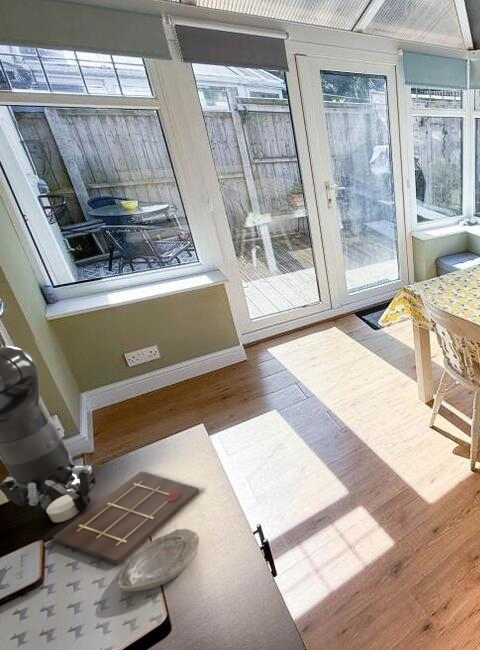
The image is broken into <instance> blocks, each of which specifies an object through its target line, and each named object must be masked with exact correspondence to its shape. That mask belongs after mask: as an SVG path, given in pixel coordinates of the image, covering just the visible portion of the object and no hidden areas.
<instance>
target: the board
mask: <svg viewBox="0 0 480 650" xmlns="http://www.w3.org/2000/svg"><path fill="white" fill-rule="evenodd" d="M199 493H200V489H199V488H198V487H195V486H192V485H189V484H186V483H182V482H179V481H176V480H172V479H170V478H166V477H162V476H159V475H156V474H153V473H149V472H145V471H143V470H141V471H139V472H138V473H137V474H135V475H134V476H133V477H131V478H130V479H129V480H126V482H125V483H123V484H122V485H120V486H119V487H118V488H116V489H115V490H114V491H112V492H111V493H110V494H108V495H107V496H106V497H104V498H103V499H101V501H99V502H98V503H96V504H95V505H94V506H92V507H91V508H89V509H88V510H87V511H86V512H85V513H83V514H81V516H78V517H77V518H76V519H75V520H74V521H72V522H71V523H70V524H67V526H66V527H64V528H63V529H61V530H60V531H59V532H58V533H56V534H55V535H54V536H53V539H54V541H55V542H57V543H60V544H62V545H66V546H69V547H70V548H74V549H76V550H79V551H82V552H84V553H86V554H90V555H92V556H95V557H97V558H100V559H103V560H106V561H109V562H111V563H114V564H117V565H121V563H123V561H125V560H126V559H127V558H128V557H129V556H130V555H131V554H133V553H134V552H135V551H136V550H137V549H138V548H139V547H140V546H141V545H142V544H144V543H145V542H146V541H147V540H148V539H150V538H151V536H152V535H154V534H155V533H156V532H157V531H158V530H160V528H161V527H162V526H164V525H165V524H166V523H167V522H168V521H169V520H170V519H171V518H172V517H174V516H175V515H176V514H177V513H178V512H179V511H181V509H183V508H184V507H185V506H186V505H187V504H188V503H189V502H190V501H191V500H193V499H194V498H195V497H196V496H197V495H198V494H199Z"/></svg>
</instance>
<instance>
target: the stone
mask: <svg viewBox="0 0 480 650" xmlns="http://www.w3.org/2000/svg"><path fill="white" fill-rule="evenodd" d="M72 499H73V498H71V497H70V496H69V495H67V494H63V495H62V496H60V497H58V498H56V499H55V500H54V501H53V500H52V503H51V504H50V505H49V506H48V507H47V509H46V512H47V514H48V516H49V517H48V518H49V519H50V521H51V522H52V523H61V522H65V521H69V520H70V519H72V518H74V517H75V516H77V515H78V514H79V513H81V511H78V509H77V508H76V506H75V504H74V502H73V500H72Z"/></svg>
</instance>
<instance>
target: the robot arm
mask: <svg viewBox="0 0 480 650" xmlns="http://www.w3.org/2000/svg"><path fill="white" fill-rule="evenodd" d="M39 373H40V372H39V368H38V365H37V362H36V361H35V359H34V357H33V356H32V355H31V354H30V353H28V351H26V350H24V349H22V348H19V347H17V346H0V460H1V461H2V463H3V465H4V466H5V468H6V470H7V471H8V473H9V475H8V476H7V477H6V478H5V479H4V480H3V481H1V483H0V491H1V492H2V493H3V494H4V495H5V496H7V498H9V499H10V500H11V501H12V502H13V503H15V505H16V506H19V507H21V506H24V505H27V504H28V505H29V506H31V507H34V508H35V510H36V512H37V513H38V514H39V515H40V516H42V518H50V517H49V516H48V514H47V512H46V509H47V507H48V506H49V505H50V504H51V503H52V502H53V500H52V499H51V497H50V495H47V491H53V490H54V491H55V490H56V491H57V492H58V493H60V494H61V495H69V496H70V497H71V498H73V499H72V500H73V502H74V504H75V506H76V508H77V509H78V511H80V512H83V511H85V510H86V508H88V506H89V505H90V503H91V502H92V499H91V497H90V495H89V494H90V493H91V491H92V490H93V488H94V487H95V485H97V478H96V477H97V476H96V469H95V464H94V463H93V462H87V463H86V464H85V465H83V466H82V465H81V466H79V465H78V466H76V464H74V463H73V462H71V460H70V452H69V450H68V448H67V446H66V445H65V443H64V441H63V438H62V437H61V436H60V435H61V434H60V433H59V431H58V429H57V428H56V426H55V425H54V423H53V422H52V421H51V420H50V418H49V417H48V414H47V413H46V411H45V409H44V407H43V405H42V403H41V399H40V395H41V393H40V391H41V390H40V376H39V375H40V374H39ZM74 488H75V489H74ZM21 494H22V495H21Z"/></svg>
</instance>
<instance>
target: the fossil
mask: <svg viewBox="0 0 480 650" xmlns="http://www.w3.org/2000/svg"><path fill="white" fill-rule="evenodd" d="M199 545H200V536H199V534H198V533H197V532H196V531H194V530H191V529H190V528H176V529H175V530H173V531H171V532H169V533H167V534H165V535H162V536H159V537H157V538H156V539H153V540H151V541H149V542H148V543H146V544H145V545H143V546H142V547H141V548H139V550H138V551H137V552H136V553H134V554H133V556H132V557H131V558H130V560H129V561H128V563H127V564H126V565H125V567H124V568H123V570H122V571H121V573H120V574H119V577H118V581H117V584H118V587H119V588H120V589H121V590H122V591H124V592H141V591H145V590H150V589H153V588H157V587H160V586H161V585H162V586H163V585H165V584H166V583H168V582H169V581H171V580H173V579H174V578H175V577H178V575H180V573H182V572H183V571H184V569H186V568H187V567H188V566H189V565H190V564H191V563H192V562H193V561H194V559H195V558H196V557H197V555H198V551H199Z"/></svg>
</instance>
